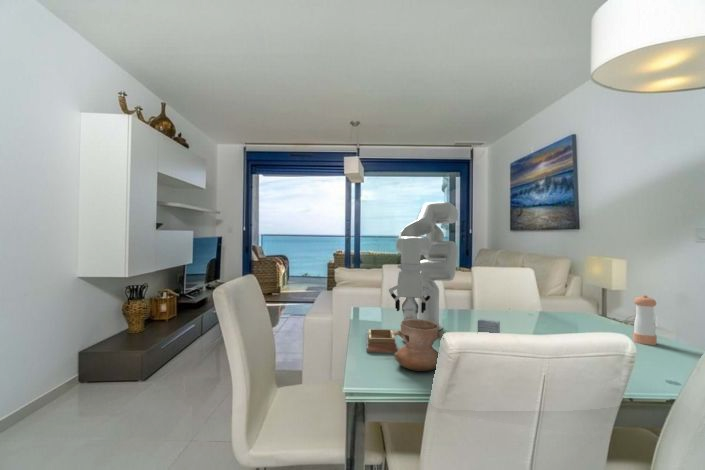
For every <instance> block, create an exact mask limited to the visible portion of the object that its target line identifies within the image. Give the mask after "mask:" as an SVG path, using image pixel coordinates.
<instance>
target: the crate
mask: <svg viewBox="0 0 705 470" xmlns="http://www.w3.org/2000/svg"><path fill="white" fill-rule="evenodd" d="M395 341H396V337H395V335H394V334H393V329H392V328H389V329H386V328H384V329H383V328H382V329H381V328H378V329H377V328H368V343H386V344H395Z"/></svg>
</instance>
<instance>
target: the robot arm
mask: <svg viewBox="0 0 705 470" xmlns="http://www.w3.org/2000/svg"><path fill="white" fill-rule="evenodd" d="M458 217H459V212H458V209H457V207H456V206H455V205H454V204H452V203H451V202H450V201H449V202H448V201H431V202H430V201H429V202H425V203H424V204H423V205H421V208H420V211H419V212H418V215H417V217H416V220H415V221H412V222H411V223H409V224H407V225H406V226H405V227H403V229H401V231H400V232H399V234H398V237H397V238H396V239H397V240H396V246H395V248H396V250H397V252H398V253H399V254H401V255H400V256H401V261H400V264H397V269H400V271H399V272H398V275H397V282H396V283H397V284H396V285H395V286H393V287H391V288H389V289H388V293H389V294H390V296H391V298H392V299H393V300H394V301H395V303H394V305H395V309H396V312H399V311H400V310H401V300H400V298H406V297H410V298H415V299H418V302H417V303H418V306H419V309H418V317H417V319H424V320H429V321H433V322H435V323H437V324H438V325H439V328H438V331H440V330H442V329H443V324H441V323H440V289H439V286H438V285H437V283H436V282H435V281H439V282H440V281H441V282H452V281H453V280H454V279H455V275H456V270H457V263H458V253H459V252H458V251H459V250H458V245H457V243H456V242H455V241H452V240H445V239H444V236H445V233H444V232H443V230H442V229H441V228H440V226H438V225H437V224H440V225H441V224H444V225H445V224H454V223H456V222H457V220H458V219H459V218H458ZM421 256H423V257H424V258H425V259H422V260H421ZM395 290H396V294H395V293H394V291H395Z"/></svg>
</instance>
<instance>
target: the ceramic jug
mask: <svg viewBox="0 0 705 470" xmlns="http://www.w3.org/2000/svg"><path fill="white" fill-rule="evenodd" d="M438 328H439V325H438V324H437V323H435V322H433V321H429V320H424V319H418V318H417V319H408V320H404V319H403V320H401V321H400V330H397V329H396V330H394V331H393V330H392V331H393V334H394V336H399V337H400V338H401V339H402V338H403V339H404V340H405V342H404V343H405V345H402V347H400V348H399V349H398V351H397V352H396V353H394V358H395V360H396V361H397V363H398V364H399V365H400V366H402V367H404V368H405V369H407V370H410V371H415V372H428V371H433V370H435V369H437V368H436V364H437V358H438V353H439V351H438V350H436V349H435V348H434V346H433V344H434V342H435V341H437V340H438V339H441V338H442V336H443V334H444V333H438V332H439V330H438ZM442 339H443V338H442Z"/></svg>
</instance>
